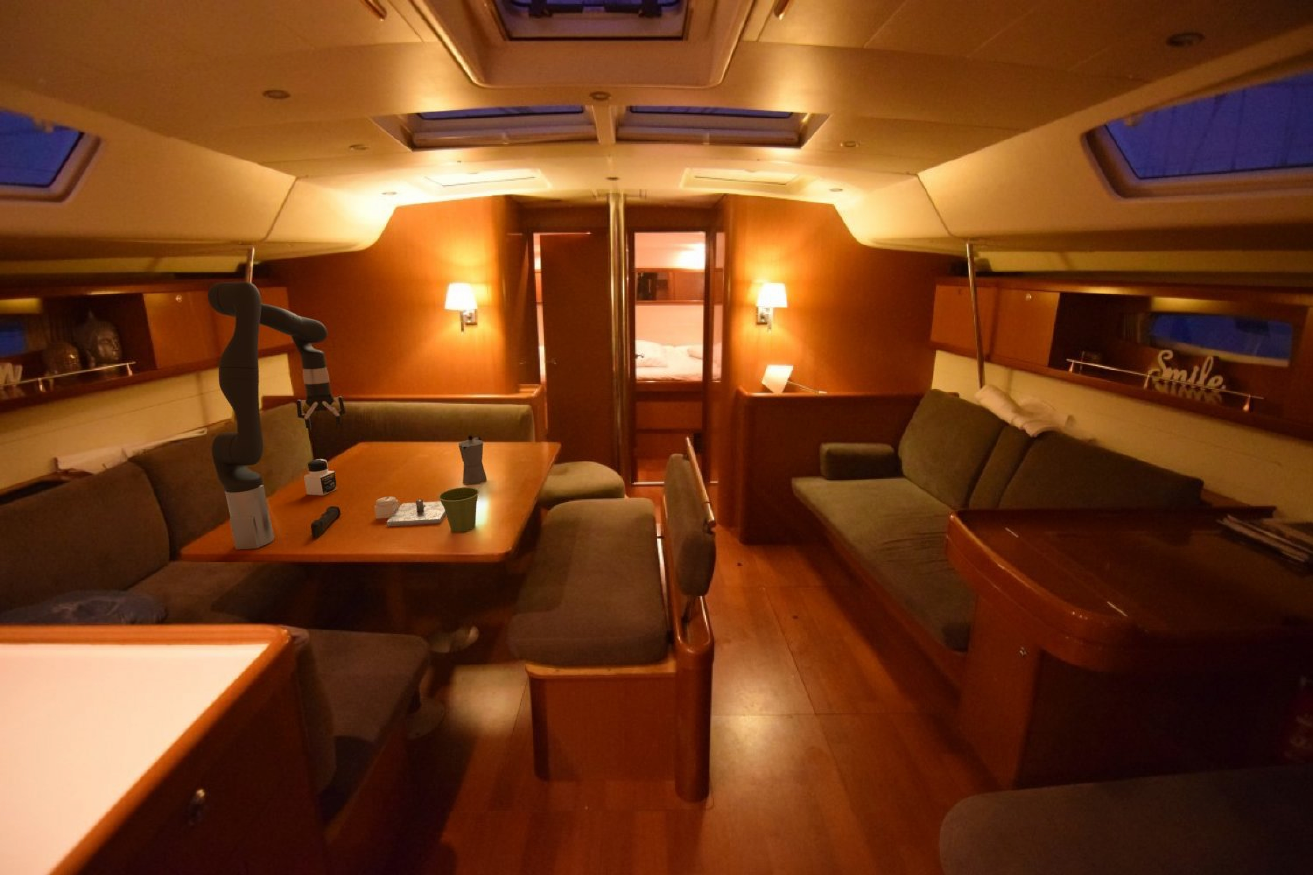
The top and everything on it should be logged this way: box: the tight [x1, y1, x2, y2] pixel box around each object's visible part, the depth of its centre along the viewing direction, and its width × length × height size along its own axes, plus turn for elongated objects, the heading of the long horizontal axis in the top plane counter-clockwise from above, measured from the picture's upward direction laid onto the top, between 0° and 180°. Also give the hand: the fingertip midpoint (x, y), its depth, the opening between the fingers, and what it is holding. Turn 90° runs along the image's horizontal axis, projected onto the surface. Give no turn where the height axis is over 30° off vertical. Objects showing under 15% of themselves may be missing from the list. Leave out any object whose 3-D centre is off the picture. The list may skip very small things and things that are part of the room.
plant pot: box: [438, 486, 480, 533], centre depth 180 cm, size 12×12×11 cm
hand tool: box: [310, 505, 342, 540], centre depth 183 cm, size 19×4×5 cm, turn 8°
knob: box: [374, 495, 400, 519], centre depth 192 cm, size 6×6×5 cm
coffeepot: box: [458, 434, 487, 486], centre depth 224 cm, size 15×9×18 cm, turn 174°
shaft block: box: [386, 499, 446, 527], centre depth 192 cm, size 16×16×5 cm
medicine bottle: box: [303, 458, 338, 496], centre depth 215 cm, size 7×7×12 cm
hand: (324, 427), depth 204 cm, fingers open, 8 cm apart
